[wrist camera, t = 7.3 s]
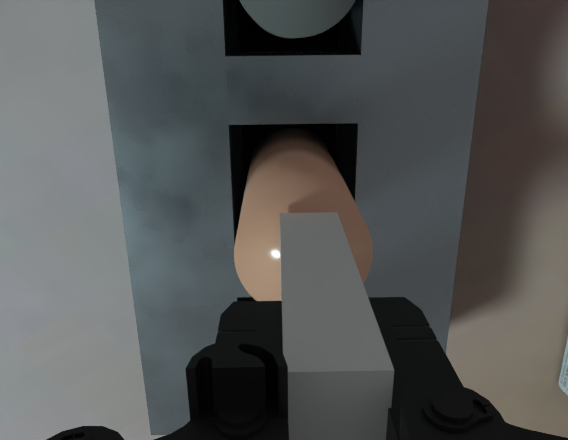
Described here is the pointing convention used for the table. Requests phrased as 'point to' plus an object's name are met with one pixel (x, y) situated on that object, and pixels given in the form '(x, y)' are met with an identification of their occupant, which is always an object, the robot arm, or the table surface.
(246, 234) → the terracotta plug
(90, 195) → the table surface
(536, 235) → the table surface
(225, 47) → the grey peg holder block
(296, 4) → the gray plug
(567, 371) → the ink cartridge box
